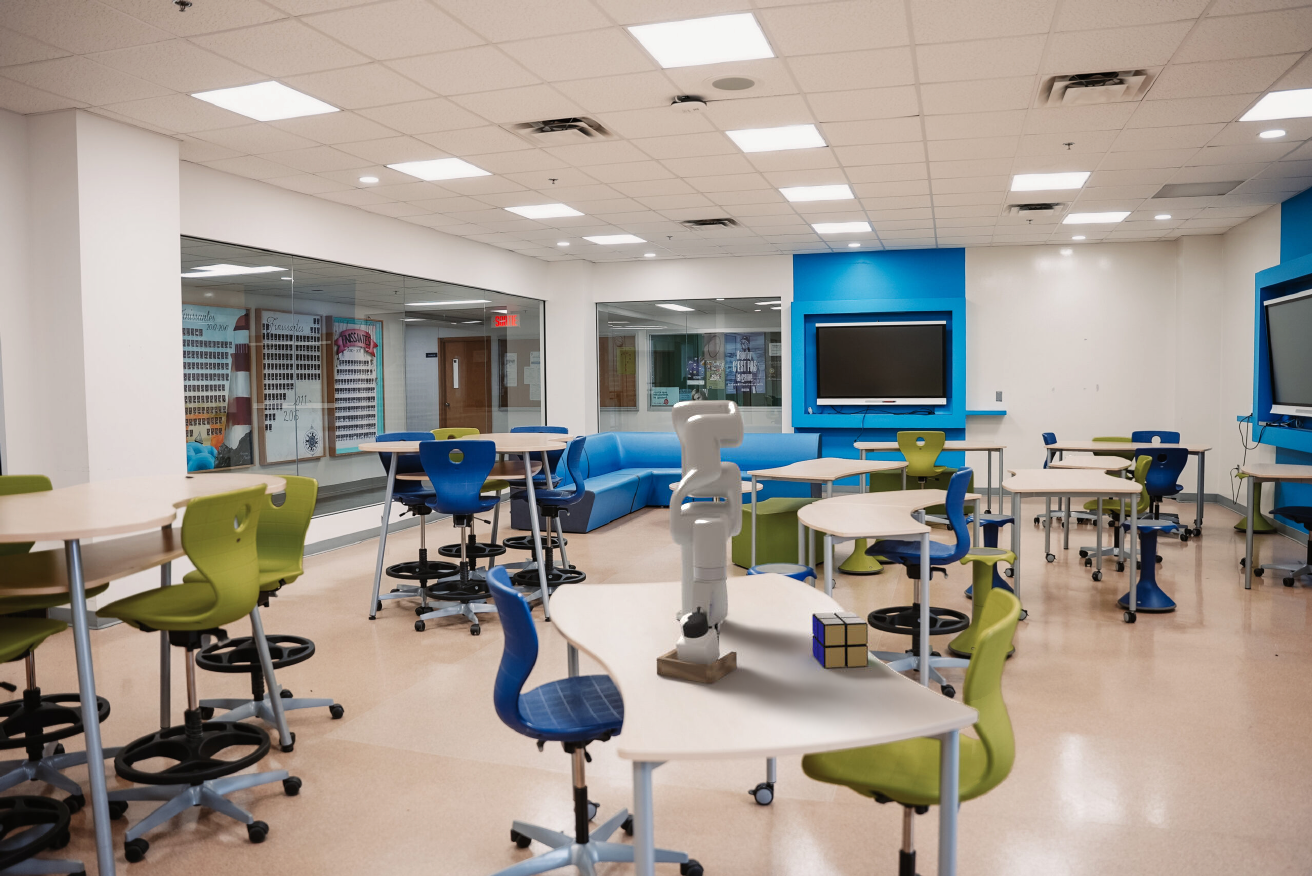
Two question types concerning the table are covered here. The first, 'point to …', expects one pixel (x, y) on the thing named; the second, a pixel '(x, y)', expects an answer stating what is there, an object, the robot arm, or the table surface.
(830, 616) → the puzzle cube
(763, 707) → the table surface
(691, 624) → the medicine bottle
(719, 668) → the bay
